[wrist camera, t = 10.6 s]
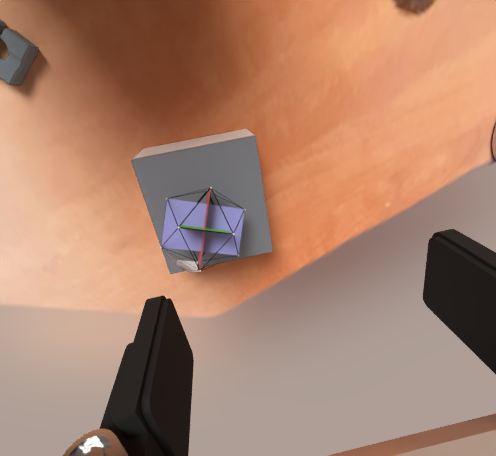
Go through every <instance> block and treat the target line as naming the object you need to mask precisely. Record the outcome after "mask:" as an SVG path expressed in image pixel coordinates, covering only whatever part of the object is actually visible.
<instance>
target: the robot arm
mask: <svg viewBox="0 0 496 456" xmlns="http://www.w3.org/2000/svg"><path fill="white" fill-rule="evenodd" d="M492 148H493V155H494V158H495V160H496V126H495V130H494V134H493V142H492ZM423 300H424V302H425V304H426V306H427V307H428V308H429V309H430V310H431V311H433V313H434V314H435V315H436V316H437V317H438V318H439V319H440V320H441V321H442V322H443V323H444V324H445V325H446V326H448V328H449V329H450V330H451V331H453V332H454V333H455V334H456V335H457V336H458V337H459V338H460V339H461V340H462V341H463V342H464V343H465V344H466V345H467V346H468V347H469V348H470V349H471V350H472V351H473V352H474V353H475V354H476V355H477V356H478V357H479V358H480V359H481V360H482V361H483V362H484V363H485V364H486V365H487V366H488V367H489V368H490V369H491V370H492V371H493V372H494V373H495V374H496V253H495V252H494V251H492V250H490V249H488V248H487V247H485V246H483V245H481V244H479V243H478V242H476V241H474V240H472V239H471V238H469V237H467V236H465V235H463V234H462V233H460V232H458V231H456V230H454V229H449V230H445V231H441V232H437V233H434V234H433V236H432V238H431V239H430V240H429V243H428V253H427V262H426V271H425V281H424V290H423ZM192 379H193V354H192V350H191V348H190V345H189V342H188V340H187V338H186V335H185V332H184V330H183V327H182V325H181V322H180V320H179V317H178V315H177V312H176V310H175V307H174V305H173V302H172V300H171V299H170V298H169V299H166V298H165V296H159V297H155V298H151V299H147V300H146V302H145V306H144V309H143V312H142V316H141V319H140V322H139V326H138V329H137V332H136V336H135V339H134V342H133V343H130V344H128V345H127V347H126V349H125V352H124V355H123V358H122V361H121V364H120V367H119V370H118V373H117V376H116V380H115V383H114V386H113V389H112V392H111V395H110V398H109V401H108V405H107V407H106V411H105V414H104V417H103V420H102V423H101V426H100V429H97V430H93V431H91V432H89V433H87V434H85V435H83V436H82V437H81V438H79V439H78V440H77V441H75V442H74V443H73V444H72V445H71V446H70V447H69V448H68V449H67V450H66V452H65V453H64V455H63V456H188V449H189V431H190V413H191V397H192ZM329 456H496V414H493V415H489V416H485V417H480V418H476V419H472V420H468V421H464V422H460V423H456V424H452V425H448V426H444V427H440V428H436V429H432V430H428V431H424V432H420V433H416V434H412V435H408V436H404V437H400V438H396V439H392V440H388V441H384V442H380V443H377V444H372V445H368V446H364V447H360V448H356V449H352V450H348V451H344V452H341V453H337V454H333V455H329Z"/></svg>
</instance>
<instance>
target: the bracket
mask: <svg viewBox="0 0 496 456" xmlns="http://www.w3.org/2000/svg"><path fill="white" fill-rule="evenodd" d="M5 27H6V25H5V23H4V22H3V21H2V20H0V37H1V39H2V40H3V41H4V42H5V44H6V46H7V48H8V52H9V55H8V58H7V59H5V60H2V59H0V79H2V80H3V81H4V82H6V83H7V84H9V85H21V84H22V82H23V80H24V78H25V76H26V74H27V72H28V71H29V69H30V67H31V65H32V63H33V61H34V59H35V57H36V56H37V54H38V52H39V50H38V47H36V46H35V45H34V44H32V43H31V42H30V41H28V40H27V39H26V38H24V37H23V36H22V35H20V34H19V33H18V32H16V31H14V30H11V29H8V28H6V29H5Z"/></svg>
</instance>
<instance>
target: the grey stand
mask: <svg viewBox="0 0 496 456" xmlns="http://www.w3.org/2000/svg"><path fill="white" fill-rule="evenodd" d="M131 162H132V165H133V168H134V171H135V174H136V177H137V179H138V182H139V185H140V188H141V191H142V194H143V197H144V200H145V202H146V205H147V208H148V211H149V214H150V217H151V220H152V222H153V225H154V228H155V231H156V234H157V237H158V240H159V243H160V245H161V242H162V234H163V226H164V218H165V210H166V202H167V200H166V198H169V199H175V200H182V201H189V202H196V203H197V202H198V200H199V199H200V198H201V197H202V196H203V195H204V193H205V192H206V191H207V190H208V189H207V188H210V187H212V190H213V189H214V190H213V192H214V194H215V196H216V195H217V196H216V198H217V200H218V202H219V204H220V206H225V207H232V208H239V209H242V208H244V209H246V210H245V212H244V220H243V227H242V234H241V242H240V249H239V256H236V257H235V255H229V254H220V253H216V255H215V253H210V252H205V254H204V255H203V253H204V252H202V255H203V256H202V260H201V267H204V266H205V264H206V263H207V262H208V261H209V259H211V258H212V257H213V256H214V255H215V256H214V257H213V258H212V259H213V260H210V261H209V262H208V263H207V265H206V266H209V265H214V264H218V263H223V261H224V262H227V261H232V260H236V259H241V258H245V257H250V256H254V255H259V254H263V253H268V252H272V251H273V249H272V242H271V236H270V229H269V222H268V215H267V208H266V202H265V195H264V188H263V181H262V175H261V168H260V161H259V154H258V147H257V141H256V136H255V135H254V134H252V133H251V132H250V131H249V130H247V129H241V130H236V131H231V132H226V133H220V134H215V135H210V136H205V137H200V138H195V139H190V140H184V141H179V142H174V143H169V144H164V145H159V146H154V147H149V148H143V149H142V150H141V151H140V152H139V153H138V154H137V155H136V156H135V157H134V158H133V159H132V160H131ZM203 189H205V190H203ZM199 190H201V191H199ZM212 190H211V191H210V192H211V193H210V197H211V199H212V202H213V204H214V205H218V202H217V200H216V198H215V196H214V194H212V193H213V192H212ZM215 190H216V191H217V192H216V191H215ZM195 191H197V192H200V193H197V192H195ZM202 191H205V192H202ZM191 192H193V193H195V194H192V193H191ZM218 192H219V193H220V194H219V193H218ZM187 193H189V195H187ZM183 194H184V196H182V195H183ZM221 194H222V195H223V196H222V195H221ZM179 195H180V196H179ZM174 196H179V197H174ZM218 196H219V197H218ZM224 196H225V197H224ZM170 197H174V198H170ZM206 197H207V194H206V195H205V196H204V198H203V199H202V200H201V201H200V203H204V204H206ZM220 197H221V198H220ZM222 198H223V199H222ZM227 198H228V199H227ZM224 199H225V200H224ZM229 199H230V200H231V201H230V200H229ZM226 200H227V201H226ZM228 201H229V202H228ZM232 201H233V202H234V203H233V202H232ZM212 202H211V200H210V198H209V204H211V205H212ZM230 202H231V203H230ZM232 203H233V204H232ZM235 203H236V204H235ZM234 204H235V205H234ZM236 205H237V206H236ZM238 205H239V207H238ZM218 206H219V205H218ZM240 207H242V208H240ZM163 249H164V248H162V251H163V254H164V257H165V260H166V263H167V266H168V268H169V271H170V274H173V273H178V272H182V271H185V270H183V269H181V268H180V267H178V266H177V265H175V264H174V262H173V261H172V260H171V259H170V258H169V256H168V255H167V254H166V253H165V252H164V250H163ZM166 249H168V250H167V251H166ZM169 250H170V251H169ZM165 251H166V252H168V253H169V252H170V253H169V254H170V255H171V256H173V257H174V258H175V259H177V260H187V261H194V260H192V259H193V257H194V259H195V260H196V262H197V259H199V251H194V252H193V251H191V250H190V251H191V253H192V255H193V257H192V255H191V253H190V251H189V250H182V249H172V248H165ZM171 251H173V252H171ZM174 252H176V253H174ZM171 253H172V254H171ZM177 253H178V254H177ZM194 253H195V255H196V257H197V259H196V257H195V255H194ZM179 254H181V255H179ZM174 255H175V256H174ZM182 255H183V256H182ZM184 256H186V257H184ZM229 256H232V257H229ZM187 257H188V258H187ZM222 257H226V258H222ZM233 257H234V258H233ZM179 258H180V259H179ZM190 258H191V259H190ZM216 258H219V259H216ZM230 258H231V259H230ZM228 259H229V260H228ZM203 260H206V261H203ZM198 267H199V266H198Z"/></svg>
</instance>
